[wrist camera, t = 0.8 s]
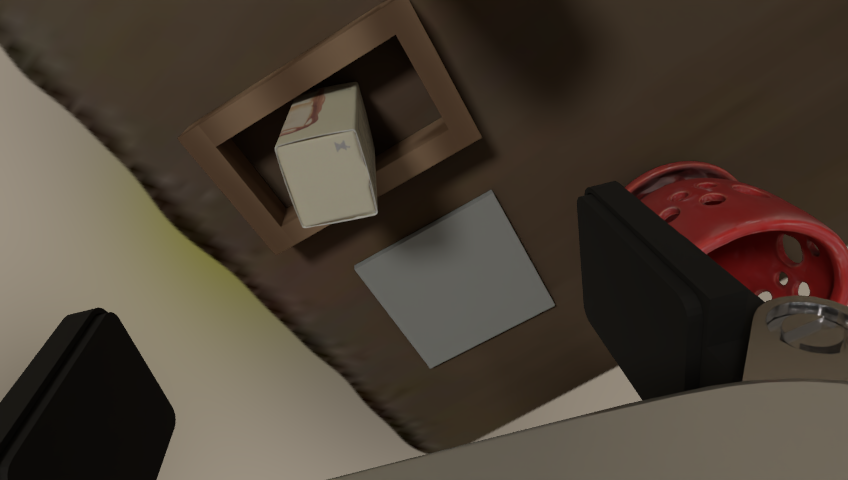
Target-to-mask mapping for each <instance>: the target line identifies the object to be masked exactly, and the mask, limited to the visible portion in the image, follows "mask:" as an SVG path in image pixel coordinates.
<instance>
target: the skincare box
mask: <svg viewBox="0 0 848 480" xmlns="http://www.w3.org/2000/svg"><path fill="white" fill-rule="evenodd" d="M275 152H276V156H277V159H278V162H279V166H280V169H281V172H282V175H283V178H284V181H285V184H286V187H287V190H288V193H289V195H290V198H291V201H292V203H293V206H294V209H295V211H296V213H297V216H298V218H299V221H300V223H301V225H302V227H303V228H309V227H315V226H321V225H328V224H333V223H339V222H344V221H350V220H355V219H360V218H364V217H369V216H375V215H376V214H377V213H378V206H377V187H376V168H375V148H374V143H373V139H372V134H371V130H370V126H369V122H368V118H367V114H366V110H365V106H364V103H363V99H362V95H361V92H360V88H359V85H358V83H357V82H350V83H344V84H339V85H333V86H328V87H323V88H318V89H314V90H310V91H306V92H303V93H302V94H300V95H298V96H297V97H295V98H294V100H293V103H292V105H291V108H290V111H289V113H288V116H287V118H286V121H285V123H284V125H283V128H282V130H281V133H280V136H279V138H278V141H277V143H276V145H275Z"/></svg>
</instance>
